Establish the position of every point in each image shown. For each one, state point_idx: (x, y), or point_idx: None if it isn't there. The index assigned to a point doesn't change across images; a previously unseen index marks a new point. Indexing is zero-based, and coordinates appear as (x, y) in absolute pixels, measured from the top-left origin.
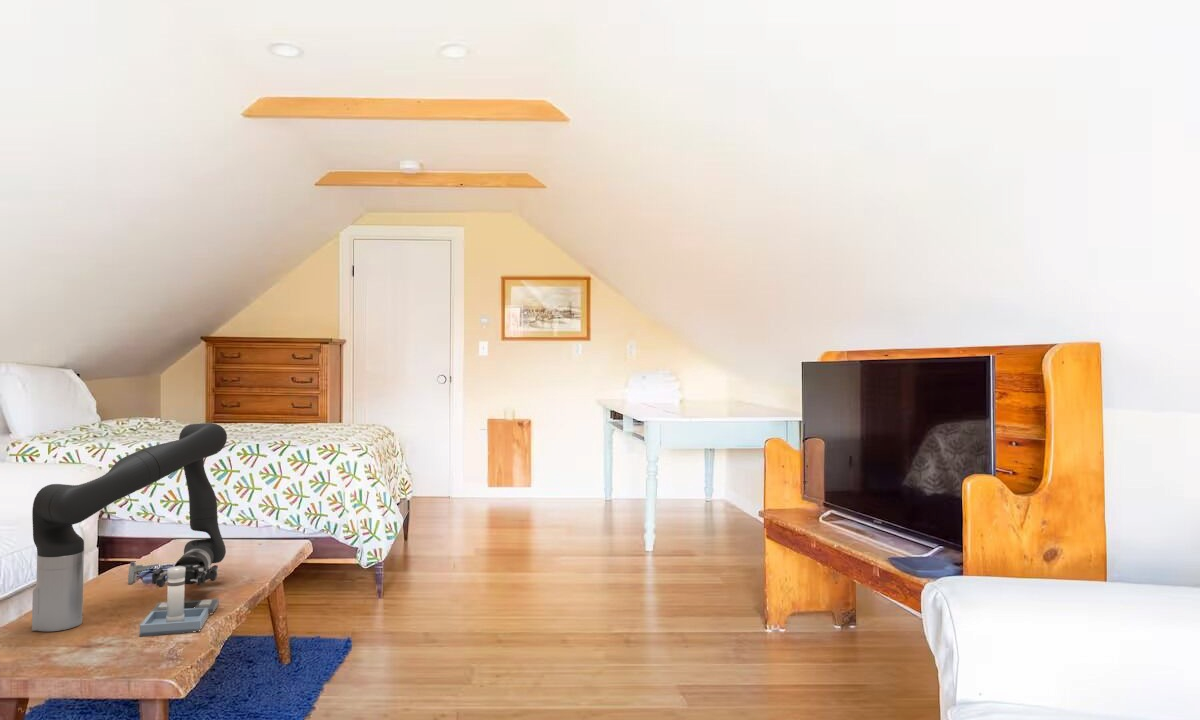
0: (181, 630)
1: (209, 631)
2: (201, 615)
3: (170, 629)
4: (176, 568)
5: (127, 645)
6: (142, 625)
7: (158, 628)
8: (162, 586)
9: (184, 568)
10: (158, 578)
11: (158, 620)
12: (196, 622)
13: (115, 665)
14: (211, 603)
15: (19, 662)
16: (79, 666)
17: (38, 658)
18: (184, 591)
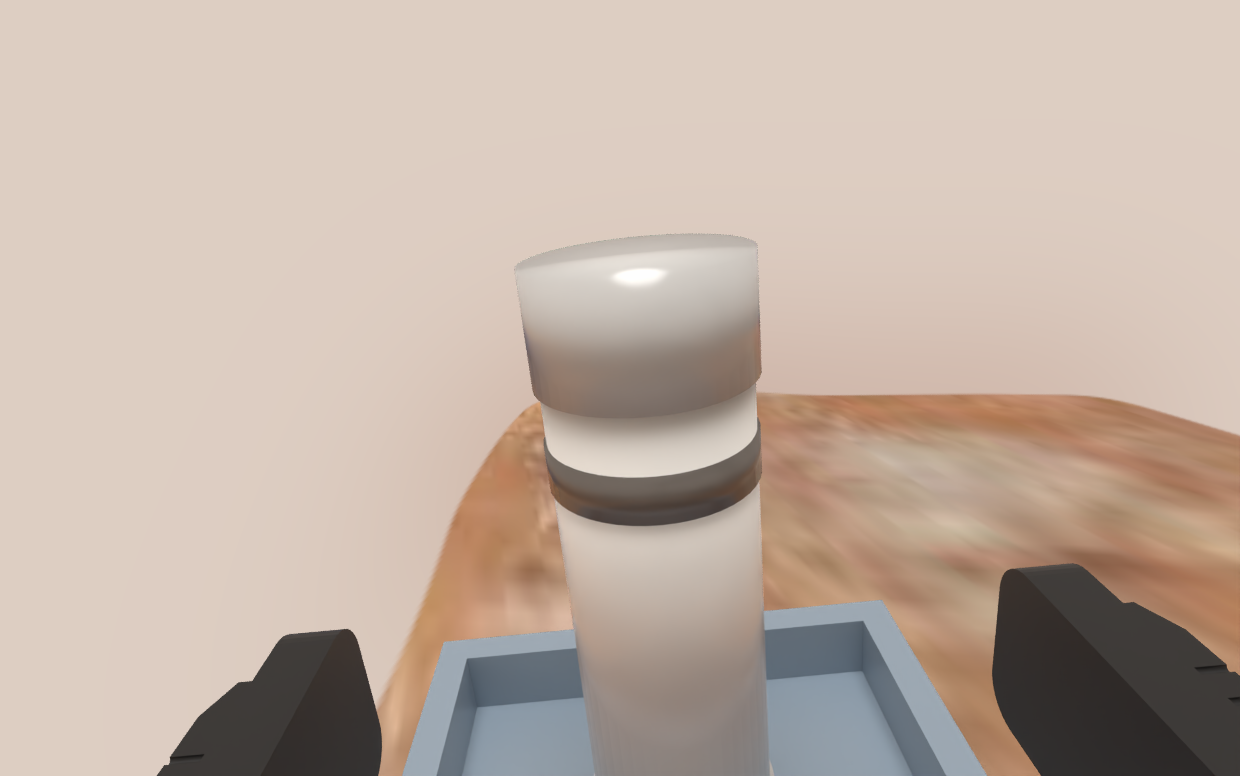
0: None
1: (392, 720)
2: (423, 773)
3: None
4: (631, 251)
5: (853, 560)
6: (863, 603)
7: None
8: (1033, 758)
9: (525, 260)
10: (1223, 688)
11: None
12: (472, 646)
13: (762, 432)
14: None
15: (1226, 447)
16: (898, 427)
17: (1189, 470)
18: (566, 577)
